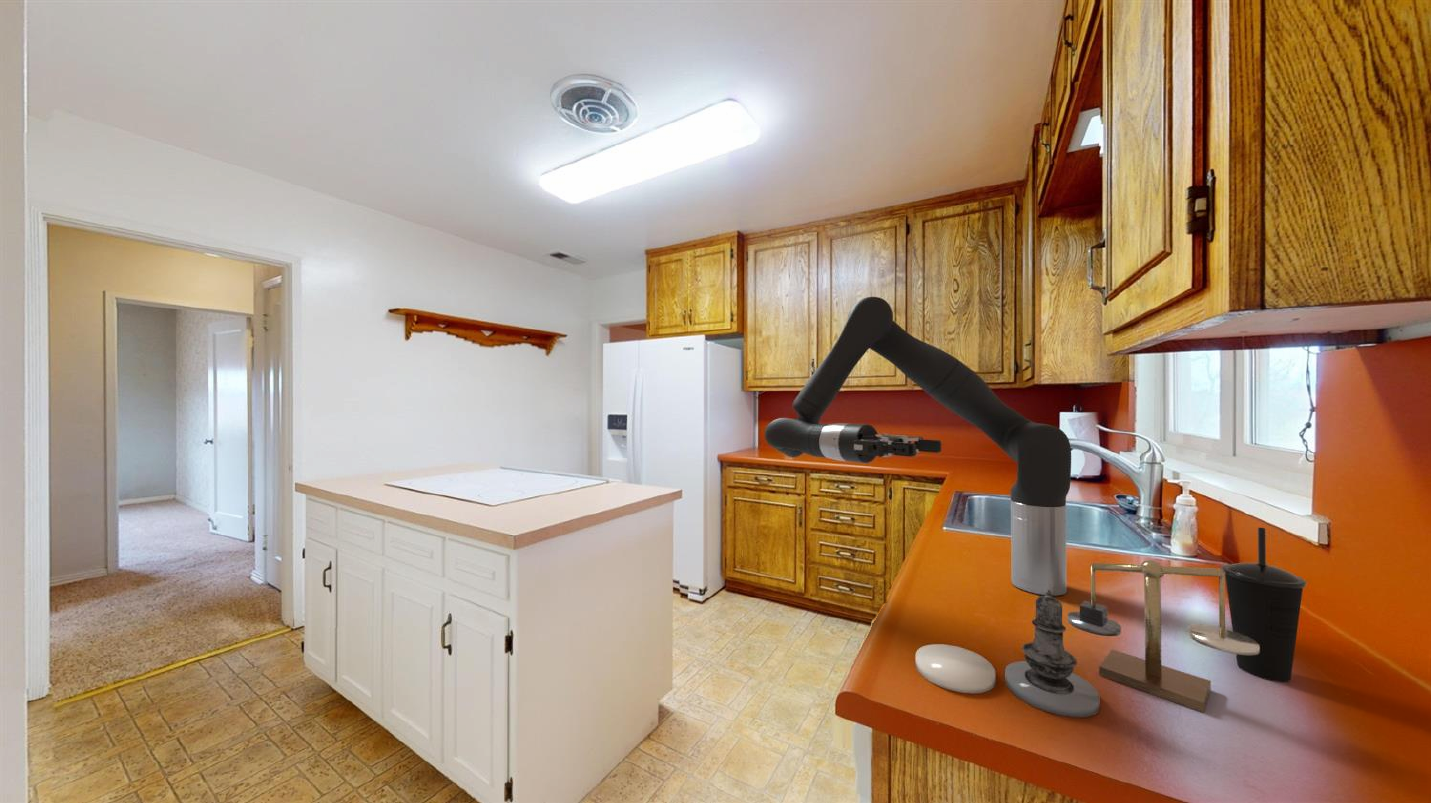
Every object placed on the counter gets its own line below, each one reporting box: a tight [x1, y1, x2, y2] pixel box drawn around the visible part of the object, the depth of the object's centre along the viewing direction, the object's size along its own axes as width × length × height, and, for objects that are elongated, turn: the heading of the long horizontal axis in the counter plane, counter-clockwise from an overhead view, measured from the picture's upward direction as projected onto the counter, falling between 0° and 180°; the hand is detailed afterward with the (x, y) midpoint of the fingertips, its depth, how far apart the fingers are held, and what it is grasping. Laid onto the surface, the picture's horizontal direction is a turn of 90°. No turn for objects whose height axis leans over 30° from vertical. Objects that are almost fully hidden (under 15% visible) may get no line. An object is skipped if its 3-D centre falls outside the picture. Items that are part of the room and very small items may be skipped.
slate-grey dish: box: [1004, 660, 1101, 718], centre depth 61 cm, size 10×10×1 cm
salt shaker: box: [1021, 590, 1078, 694], centre depth 61 cm, size 6×6×12 cm
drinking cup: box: [1221, 527, 1307, 683], centre depth 65 cm, size 8×8×20 cm
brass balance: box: [1067, 559, 1260, 713], centre depth 63 cm, size 7×19×17 cm, turn 38°
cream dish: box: [914, 643, 996, 694], centre depth 66 cm, size 10×10×1 cm
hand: (928, 448), depth 80 cm, fingers open, 8 cm apart
